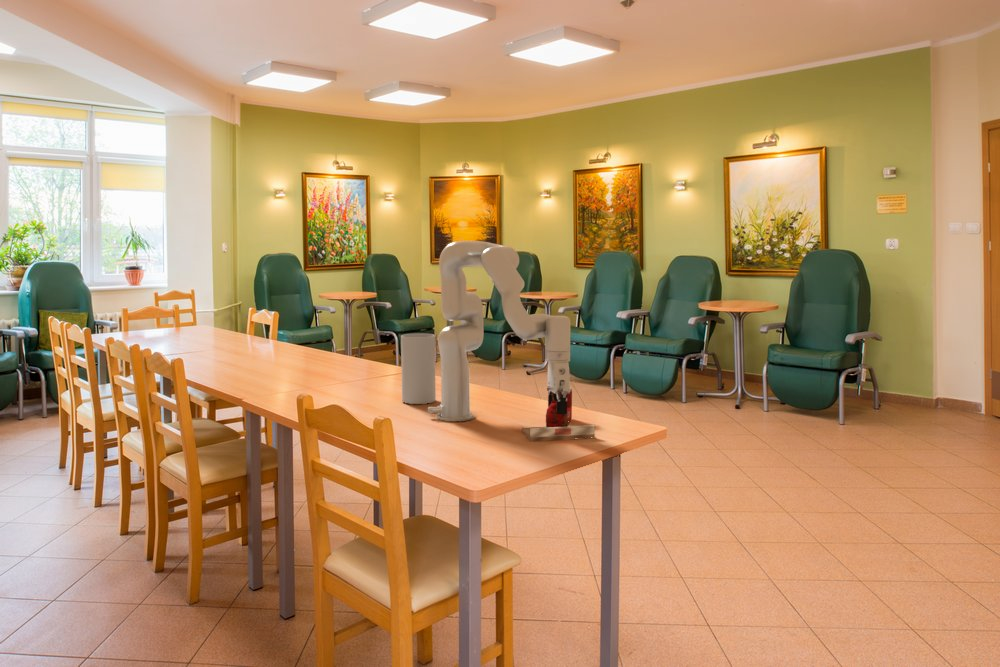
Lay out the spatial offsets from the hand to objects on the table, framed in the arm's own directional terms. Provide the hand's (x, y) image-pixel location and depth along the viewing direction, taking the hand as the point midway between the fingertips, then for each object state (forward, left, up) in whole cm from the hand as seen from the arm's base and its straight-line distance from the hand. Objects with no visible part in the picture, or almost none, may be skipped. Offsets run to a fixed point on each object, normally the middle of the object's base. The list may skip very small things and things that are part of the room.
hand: (557, 410), depth 232 cm
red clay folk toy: (0, 0, -6) cm, 7 cm away
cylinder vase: (-38, +57, -8) cm, 69 cm away
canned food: (+6, +18, -8) cm, 20 cm away
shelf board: (0, 0, -7) cm, 8 cm away
